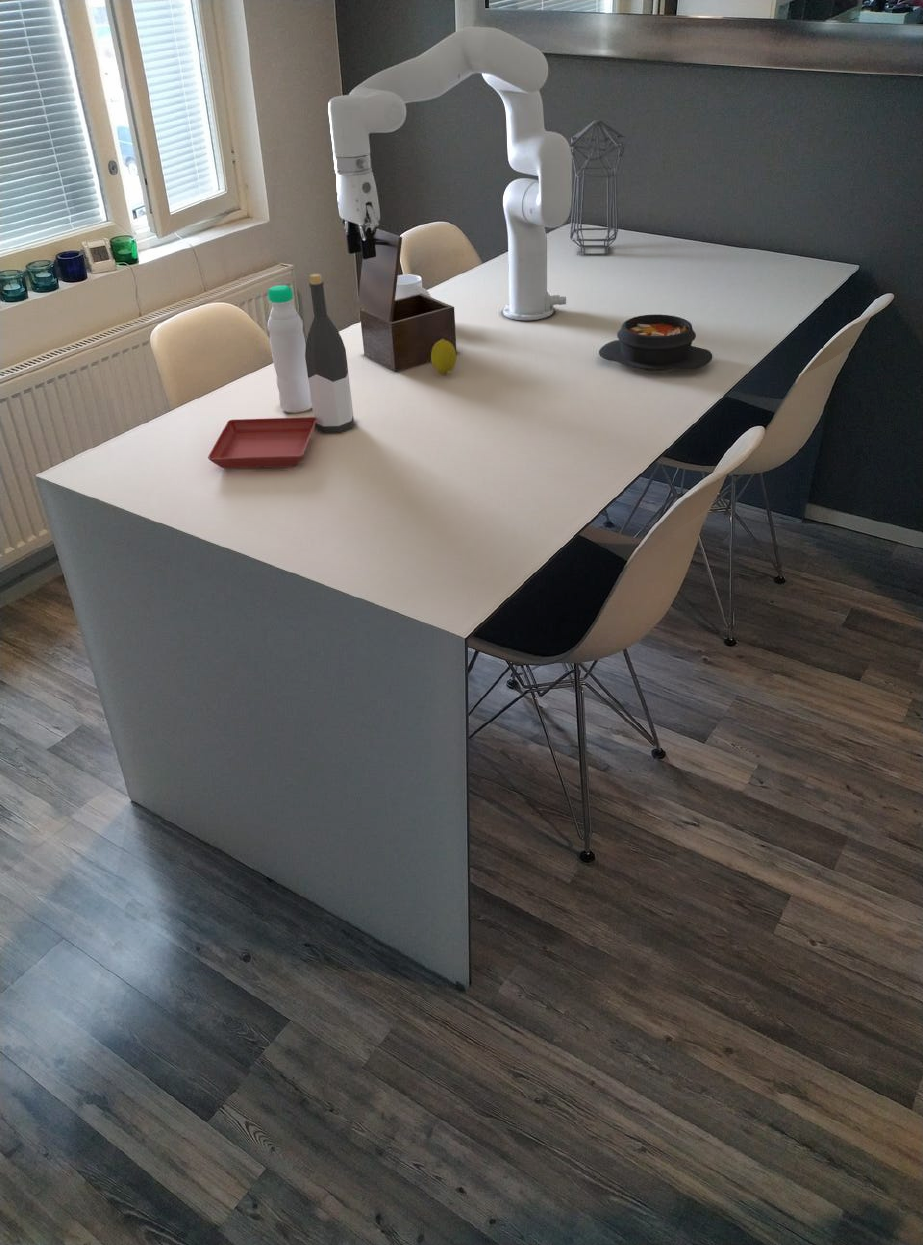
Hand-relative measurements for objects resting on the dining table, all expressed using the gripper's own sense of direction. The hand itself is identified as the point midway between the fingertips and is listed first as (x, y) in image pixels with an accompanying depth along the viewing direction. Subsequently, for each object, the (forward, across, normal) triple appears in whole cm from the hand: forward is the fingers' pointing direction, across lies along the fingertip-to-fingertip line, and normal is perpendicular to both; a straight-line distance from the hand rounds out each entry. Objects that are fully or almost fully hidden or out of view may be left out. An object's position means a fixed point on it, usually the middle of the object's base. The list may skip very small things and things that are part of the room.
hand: (362, 254), depth 216 cm
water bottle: (+25, -10, +25) cm, 36 cm away
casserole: (+25, -41, -48) cm, 68 cm away
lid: (+5, 0, -4) cm, 6 cm away
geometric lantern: (+25, +35, -97) cm, 106 cm away
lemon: (+25, -16, -9) cm, 31 cm away
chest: (+25, 0, -10) cm, 27 cm away
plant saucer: (+25, -26, +40) cm, 53 cm away
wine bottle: (+25, -24, +23) cm, 41 cm away
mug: (+25, +19, -23) cm, 39 cm away
